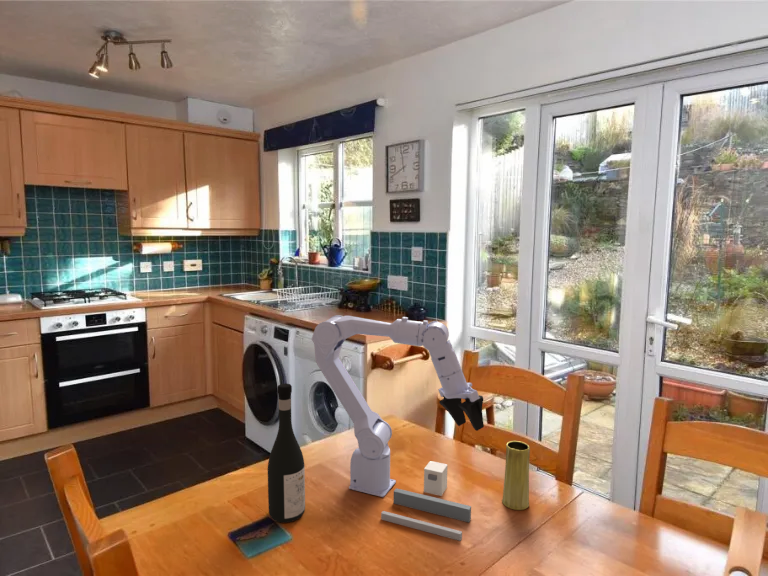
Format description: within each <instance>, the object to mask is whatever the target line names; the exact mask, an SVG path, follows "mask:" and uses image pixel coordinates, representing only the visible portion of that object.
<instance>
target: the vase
mask: <svg viewBox="0 0 768 576" xmlns="http://www.w3.org/2000/svg"><path fill="white" fill-rule="evenodd" d="M505 445H506V446H505V447H506V452H505V467H504V482H503V490H502V491H503V492H502V500H501V501H502V505H504V506H505V507H506V508H508V509H511V510H514V511H524V510H526V509H527V508H529V506H530V459H531V458H530V456H531V455H530V454H531V447H530V445H529V444H528V443H526V442H524V441H520V440H509V441H508V442H507V443H506V444H505Z"/></svg>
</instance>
